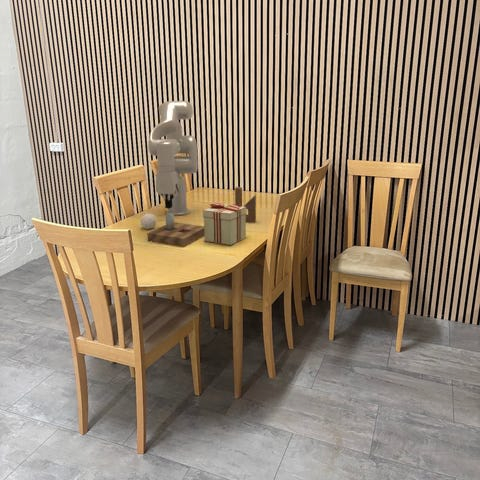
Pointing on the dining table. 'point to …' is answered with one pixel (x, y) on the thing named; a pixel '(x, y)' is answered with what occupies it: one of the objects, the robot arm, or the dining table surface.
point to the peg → (169, 222)
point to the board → (177, 234)
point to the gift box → (224, 223)
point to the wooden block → (246, 205)
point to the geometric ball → (148, 221)
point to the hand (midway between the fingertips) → (168, 207)
